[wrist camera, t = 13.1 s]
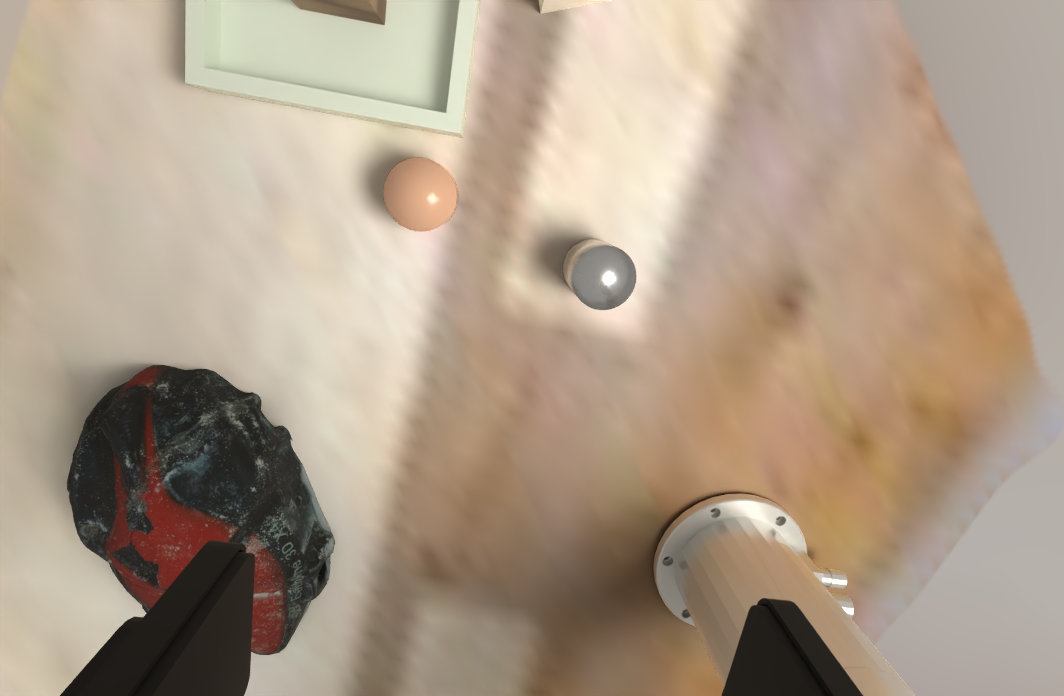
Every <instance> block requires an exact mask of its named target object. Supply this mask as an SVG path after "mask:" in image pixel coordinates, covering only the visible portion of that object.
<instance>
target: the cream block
mask: <svg viewBox="0 0 1064 696" xmlns="http://www.w3.org/2000/svg"><path fill="white" fill-rule="evenodd" d="M605 1H611V0H539V7H540V13H541V14H542V13H547V12H552V11H558V10H563V9H568V8H574V7H579V6H584V5H589V4H595V3H600V2H605Z"/></svg>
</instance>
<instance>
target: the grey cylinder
mask: <svg viewBox="0 0 1064 696" xmlns="http://www.w3.org/2000/svg"><path fill="white" fill-rule="evenodd" d="M563 274H564V278H565V280H566V282H567V284H568V285H569V287H570V288H571V289H572V290H573V292H574V293H575V294H576V296H577V297H578V298H579V299H580V300H581V301H582V302H583V303H584V304H585V305H587V306H589V307H591V308H593V309H597V310H608V309H612V308H615V307H617V306H619V305H621V304H622V303H624V302H625V301H626V300H627V299H628V298H629V296H630V295H631V293H632V292H633V289H634V287H635V283H636V270H635V266H634V264H633V262H632V260H631V258H630V257H629V256H628V255H627V254H626V253H625V252H624V251H622V250H621V249H619V248H617V247H614V246H612V245H610V244H608V243H605V242H603V241H601V240H597V239H588V240H583V241H581V242H579V243H577V244H575V245H574V246H573V247H572V248H571V249H570V250H569V251H568V253H567V255H566V257H565V259H564V263H563Z"/></svg>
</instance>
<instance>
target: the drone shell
mask: <svg viewBox="0 0 1064 696" xmlns="http://www.w3.org/2000/svg"><path fill="white" fill-rule="evenodd" d="M260 409H261V399H260V397H259V396H258V395H257V394H254V393H245V392H242V391H240V390H238V389H237V388H235V387H234V386H233V385H232V384H230V383H229V382H228V381H227V380H225V379H224V378H223V377H221V376H220V375H219V374H217V373H216V372H214V371H211V370H207V369H196V370H182V369H178V368H176V367H170V366H166V365H157V366H155V365H154V366H151V367H149V368H147V369H145V370H143V371H142V372H140V373H138V374H137V375H135V376H134V377H133V378H132V379H131V380H130V381H128V382H126V383H124V384H122V385H120V386H118V387H116V388H114V389H112V390H110V391H109V392H108V393H107V395H105V396H104V397H103V398H102V399H101V400H100V401H99V402H98V404H97V405H96V406H95V408H94V409H93V410H92V412H91V413H90V414H89V416H88V417H87V419H86V421H85V424H84V426H83V431H82V433H81V435H80V438H79V441H78V444H77V447H76V449H75V451H74V454H73V461H72V464H71V467H70V472H69V476H68V479H67V490H68V492H69V499H70V503H71V506H72V511H73V517H74V522H75V526H76V530H77V533H78V535H79V537H80V539H81V541H82V542H83V544H84V545H85V546H86V547H87V548H88V549H90V550H91V551H92V552H94V553H96V554H97V555H99V556H100V557H101V558H103V559H104V560H106V561H107V562H109V564H110V567H111V569H112V571H113V573H114V574H115V576H116V577H117V579H118V580H119V581H120V583H121V584H122V585H123V587H124V588H125V589H126V590H127V592H128V593H129V594H130V595H132V596H133V597H134V598H135V599H136V600H137V601H138V602H139V603H140V604H142V607H143V609H144V610H145V612H146V613H148V611H149V610H150V609H151V608H152V607H153V605H154V604H155V603H156V602H157V601H158V599H159V598H160V597H161V596H162V595H163V593H164V592H165V591H166V590H167V589H168V588H169V586H170V585H171V584H172V583H173V582H174V580H175V579H176V578H177V577H178V576H179V574H180V573H181V572H182V571H183V570H184V568H185V567H186V566H187V565H188V564H189V562H190V561H191V560H192V559H193V558H194V557H195V555H196V554H197V553H198V552H199V551H200V549H201V548H202V547H203V546H204V545H205V544H206V543H207V542H208V541H210V540H215V541H224V542H234V543H243V544H244V545H245V547H246V553H253V554H254V555H255V574H254V596H253V618H252V639H251V652H253V653H256V654H259V655H270V654H275V653H278V652H280V651H281V650H283V649H284V648H285V647H286V646H287V644H288V642H289V640H290V639H291V637H292V635H293V634H294V632H295V630H296V628H297V626H298V624H299V622H300V620H301V619H302V617H303V615H304V614H305V612H306V610H307V608H308V606H309V604H310V602H311V600H313V599H314V598H316V597H317V596H318V595H319V594H320V593H321V591H322V590H323V588H324V587H325V585H326V584H327V581H328V579H329V573H330V555H331V554H332V553H333V549H334V544H335V541H334V538H333V535H332V533H331V530H330V528H329V526H328V524H327V522H326V519H325V517H324V515H323V513H322V511H321V508H320V506H319V504H318V501H317V499H316V497H315V494H314V492H313V489H312V487H311V484H310V482H309V479H308V477H307V474H306V472H305V470H304V467H303V465H302V463H301V462H300V460H299V458H298V457H297V455H296V454H295V452H294V451H293V448H292V446H291V441H290V440H292V438H291V435H290V433H289V431H288V430H287V429H286V428H285V427H283V426H278V427H275V428H274V427H273V426H272V425H271V423H270V422H269V421H268V420H267V419H266V418H265V416H264V415H263V413H262V412H261V410H260ZM292 441H293V440H292ZM318 575H320V576H318Z"/></svg>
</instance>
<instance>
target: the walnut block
mask: <svg viewBox="0 0 1064 696" xmlns="http://www.w3.org/2000/svg"><path fill="white" fill-rule="evenodd" d="M291 1H292V2H293V3H294V4H295V5H296V6H297V7H299V8H300V9H302V10H307V11H312V12H317V13H323V14H328V15H333V16H338V17H344V18H349V19H354V20H359V21H365V22H370V23H375V24H380V25H385V17H386V4H387V0H291Z"/></svg>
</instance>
